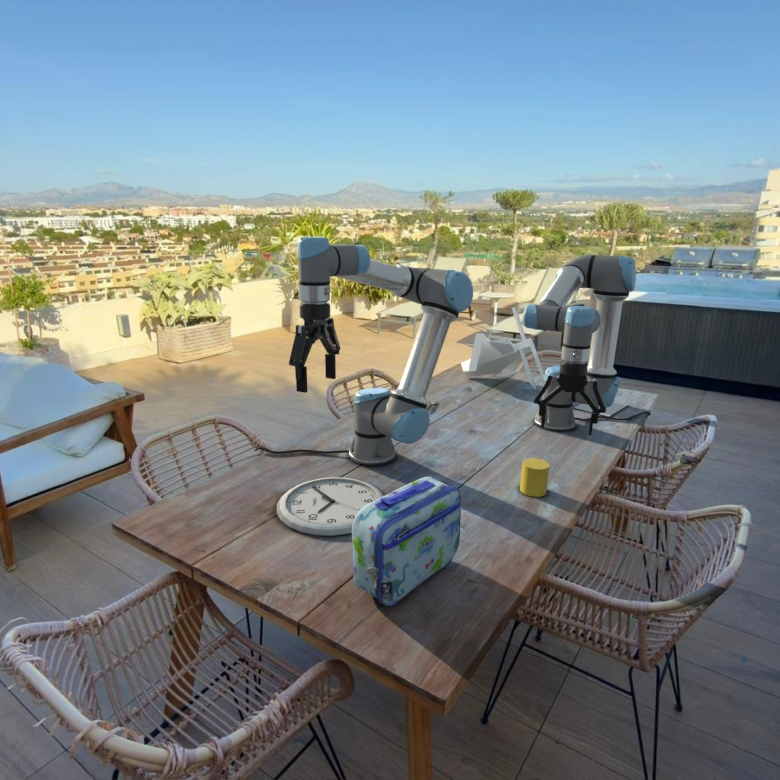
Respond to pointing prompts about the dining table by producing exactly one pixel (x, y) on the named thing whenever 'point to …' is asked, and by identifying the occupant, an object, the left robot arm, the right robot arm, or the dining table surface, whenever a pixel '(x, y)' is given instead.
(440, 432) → the dining table surface
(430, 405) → the fork
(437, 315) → the left robot arm
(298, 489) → the wall clock
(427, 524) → the lunch box
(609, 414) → the grey flat slab
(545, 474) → the canister
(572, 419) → the right robot arm
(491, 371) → the white plastic object
